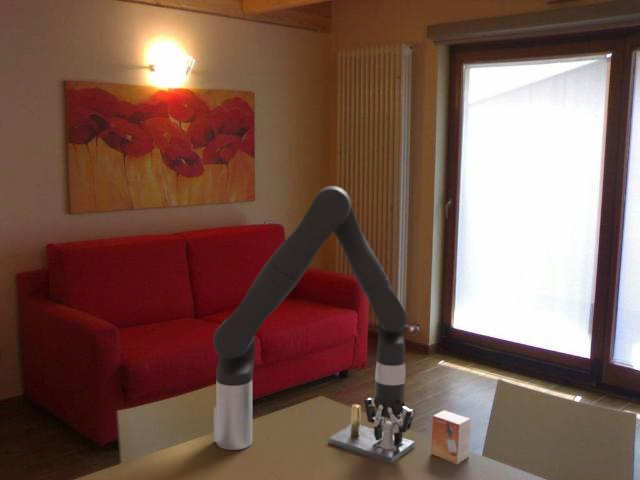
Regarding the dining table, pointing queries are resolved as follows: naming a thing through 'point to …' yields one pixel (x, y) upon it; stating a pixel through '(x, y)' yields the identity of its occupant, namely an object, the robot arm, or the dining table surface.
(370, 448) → the bolt plate
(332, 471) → the dining table surface
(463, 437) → the small box
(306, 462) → the dining table surface
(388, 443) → the rook chess piece
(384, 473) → the dining table surface
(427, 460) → the dining table surface
